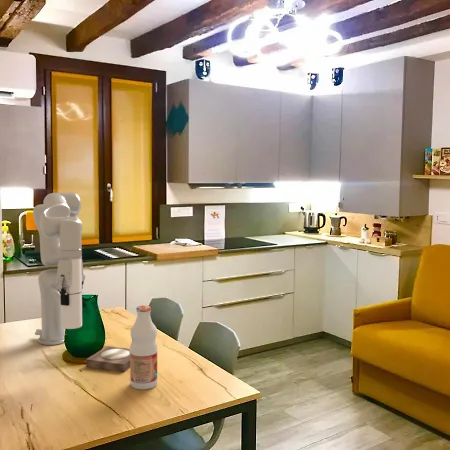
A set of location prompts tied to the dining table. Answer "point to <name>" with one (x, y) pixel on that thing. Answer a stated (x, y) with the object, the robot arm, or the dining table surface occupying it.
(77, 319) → the cylindrical container
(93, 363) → the walnut plinth
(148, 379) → the fruit juice
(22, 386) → the dining table surface
